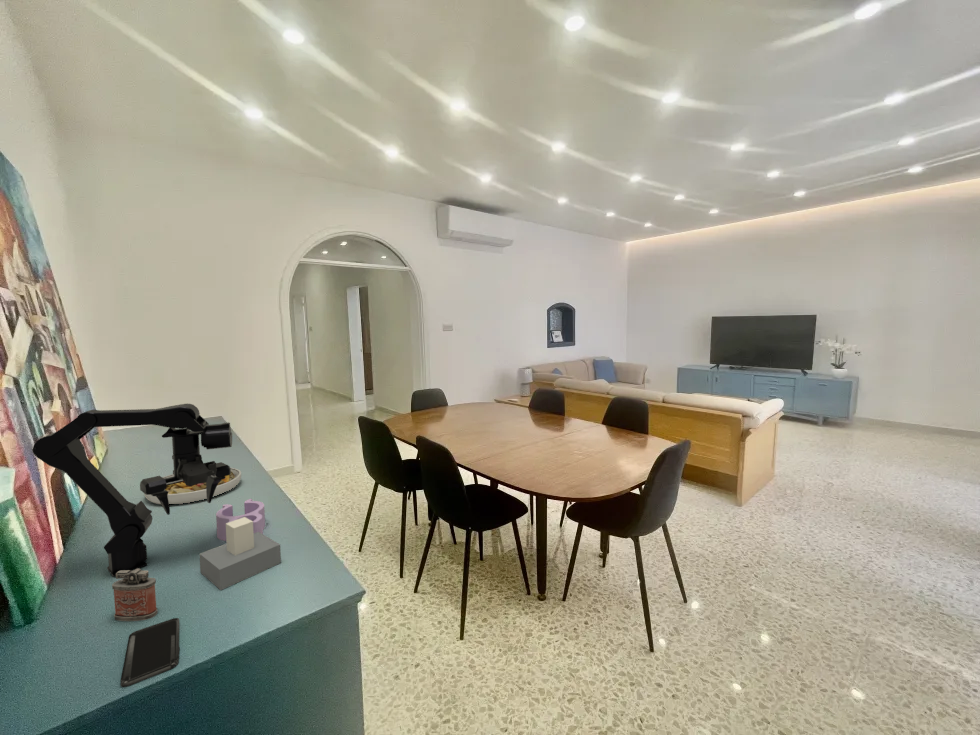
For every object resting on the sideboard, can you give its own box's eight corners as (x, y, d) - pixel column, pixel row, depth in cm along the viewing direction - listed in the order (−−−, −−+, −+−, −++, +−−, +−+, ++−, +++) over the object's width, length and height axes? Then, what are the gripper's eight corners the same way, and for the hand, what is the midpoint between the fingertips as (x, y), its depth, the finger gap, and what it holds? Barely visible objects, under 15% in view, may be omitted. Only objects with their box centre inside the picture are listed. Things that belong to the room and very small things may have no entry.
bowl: (241, 497, 149) (240, 476, 148) (135, 516, 133) (134, 493, 132) (241, 473, 174) (240, 456, 173) (152, 487, 158) (151, 468, 157)
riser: (220, 590, 93) (219, 569, 93) (200, 572, 100) (199, 553, 100) (280, 562, 104) (280, 544, 104) (259, 548, 111) (258, 531, 111)
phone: (119, 685, 67) (129, 632, 79) (120, 691, 67) (129, 638, 79) (179, 662, 71) (179, 616, 83) (179, 668, 72) (180, 621, 83)
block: (235, 555, 99) (233, 528, 98) (226, 550, 101) (225, 523, 101) (254, 547, 102) (252, 521, 102) (245, 542, 105) (244, 516, 104)
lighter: (162, 609, 86) (159, 565, 86) (149, 620, 83) (146, 574, 82) (123, 610, 86) (120, 566, 85) (109, 621, 83) (106, 575, 82)
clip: (273, 540, 116) (272, 517, 116) (222, 555, 108) (221, 530, 108) (260, 517, 132) (259, 496, 131) (214, 528, 124) (213, 506, 123)
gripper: (151, 466, 94) (155, 530, 95) (238, 448, 109) (240, 504, 110) (137, 457, 101) (141, 517, 102) (221, 442, 116) (223, 494, 117)
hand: (189, 508), depth 108 cm, fingers open, 9 cm apart
